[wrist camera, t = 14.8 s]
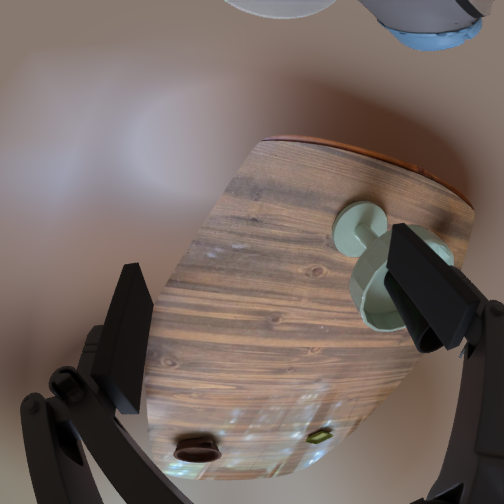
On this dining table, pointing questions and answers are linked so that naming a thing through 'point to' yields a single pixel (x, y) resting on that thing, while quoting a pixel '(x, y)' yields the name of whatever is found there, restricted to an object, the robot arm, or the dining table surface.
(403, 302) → the cup
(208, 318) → the dining table surface
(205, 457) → the dish
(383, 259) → the bowl
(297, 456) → the dining table surface
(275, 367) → the dining table surface
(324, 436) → the green square tray
